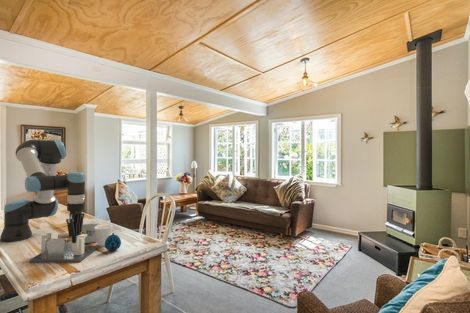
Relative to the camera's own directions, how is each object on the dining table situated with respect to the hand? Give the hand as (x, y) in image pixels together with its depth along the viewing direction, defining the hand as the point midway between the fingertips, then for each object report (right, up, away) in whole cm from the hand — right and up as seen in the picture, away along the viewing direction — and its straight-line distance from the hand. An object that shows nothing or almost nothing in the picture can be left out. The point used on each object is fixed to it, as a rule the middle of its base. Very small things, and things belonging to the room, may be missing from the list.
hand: (75, 248), depth 131 cm
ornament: (+13, -6, +13) cm, 19 cm away
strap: (-9, +2, +5) cm, 11 cm away
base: (-8, -6, +6) cm, 12 cm away
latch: (0, -4, +5) cm, 7 cm away
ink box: (-8, -6, +28) cm, 29 cm away
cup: (+3, -6, +21) cm, 22 cm away
